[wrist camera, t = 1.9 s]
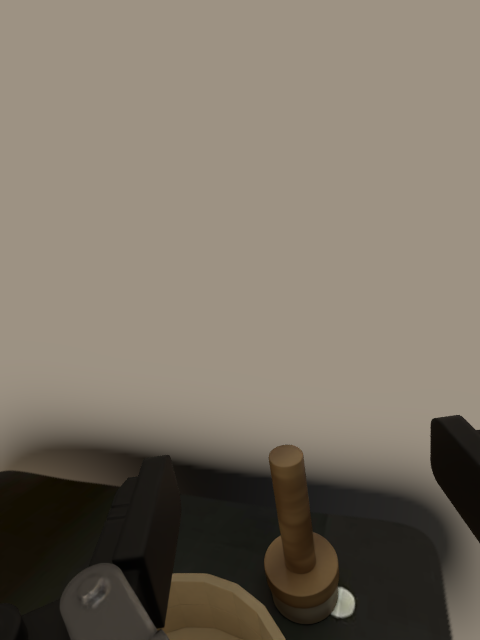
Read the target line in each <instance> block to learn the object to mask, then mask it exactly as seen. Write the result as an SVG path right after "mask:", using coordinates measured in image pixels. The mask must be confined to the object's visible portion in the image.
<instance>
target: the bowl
mask: <svg viewBox="0 0 480 640" xmlns="http://www.w3.org/2000/svg"><path fill="white" fill-rule="evenodd" d="M159 629H162V630H163V631H164V632H165V633H166V635H167V636H168V638H169V639H170V640H286V639H285V637H284V636H283V634H282V632H281V631H280V629H279V628H278V626H277V625H276V623H275V621H274V620H273V618H272V617H271V615H270V614H269V612H268V610H267V609H266V607H265V606H264V605H263V604H262V603H260V602H259V601H258V600H257V599H256V598H254V597H253V596H252V595H251V594H249V593H248V592H247V591H246V590H244V589H243V588H242V587H241V586H239V585H238V584H236V583H233V582H230V581H227V580H225V579H222V578H219V577H216V576H213V575H210V574H206V573H175V574H174V573H173V574H172V580H171V587H170V593H169V600H168V607H167V614H166V620H165V627H164V628H159ZM159 629H157V630H159Z"/></svg>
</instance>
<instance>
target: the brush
mask: <svg viewBox="0 0 480 640" xmlns="http://www.w3.org/2000/svg"><path fill="white" fill-rule="evenodd" d="M303 458H304V457H303V453H302V451H301V450H300V449H299V448H298V447H296V446H293V445H282V446H278V447H276V448H274V449H273V450H272V451H271V452H270V454H269V463H270V469H271V476H272V482H273V489H274V495H275V502H276V508H277V514H278V521H279V527H280V533H281V536H279V537H278V538H276V539H275V540H274V541H273V542H272V543H271V544H270V546H269V548H268V549H267V552H266V554H265V559H264V567H265V573H266V579H267V583H268V586H269V588H270V590H271V591H272V596H273V600H274V603H275V605H276V607H277V609H278V610H279V611H280V613H281V614H282V615H284V616H285V617H286V618H287V619H289V620H291V621H293V622H296V623H299V624H313V623H317V622H320V621H322V620H324V619H325V618H326V617H328V616H329V615H330V614H331V612H332V611H333V610H334V608H335V606H336V603H337V600H338V582H339V567H338V558H337V555H336V552H335V550H334V548H333V547H332V545H331V544H330V543H329V542H328V541H327V540H326V539H325V538H324V537H322V536H321V535H319V534H317V533H314V532H313V531H312V522H311V514H310V507H309V498H308V490H307V482H306V474H305V467H304V459H303Z"/></svg>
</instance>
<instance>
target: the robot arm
mask: <svg viewBox="0 0 480 640" xmlns="http://www.w3.org/2000/svg"><path fill="white" fill-rule="evenodd" d="M430 460H431V468H432V471H433V474H434V477H435V479H436V481H437V483H438V484H439V486H440V487H441V488H442V490H443V491H444V493H445V494H446V496H447V497H448V498H449V500H450V501H451V503H452V504H453V505H454V507H455V508H456V510H457V511H458V513H459V514H460V515H461V517H462V518H463V520H464V521H465V523H466V524H467V525H468V527H469V528H470V530H471V531H472V533H473V534H474V535H475V537H476V538H477V540H478V541H479V543H480V430H475V429H474V428H473V427H472V426H471V425H470V424H469V423H468V422H467V421H466V420H465V419H464V418H463V417H462V416H460V415H454V416H448V417H440V418H434V419H432V421H431V457H430ZM180 519H181V499H180V494H179V489H178V485H177V481H176V477H175V473H174V469H173V465H172V461H171V458H170V456H169V455H164V456H157V457H150V458H145V459H144V460H143V463H142V466H141V469H140V472H139V475H138V477H132V478H128V479H127V480H126V481H125V482H124V483H123V485H122V486H121V487H120V488H119V489H118V490H117V492H116V494H115V497H114V500H113V502H112V505H111V509H110V511H109V513H108V516H107V521H105V524H104V527H103V529H102V532H101V535H100V537H99V540H98V543H97V546H96V548H95V551H94V554H93V556H92V559H91V562H90V564H89V567H88V568H86V569H85V570H83V571H82V572H80V573H79V574H78V575H76V576H75V577H74V578H73V579H72V580H71V581H70V583H69V584H68V585H67V587H66V588H65V590H64V592H63V594H62V596H61V598H60V599H58V600H56V601H54V602H52V603H50V604H48V605H45V606H43V607H41V608H38V609H36V610H34V611H31V612H29V613H27V614H24V615H22V616H21V614H20V612H19V610H18V608H17V607H16V606H14V605H12V604H7V603H4V604H0V640H170V639H169V638H168V636H167V635H166V633H165V632H164V631H163V630H162V629H159V628H164V627H165V620H166V614H167V607H168V600H169V593H170V587H171V580H172V573H173V566H174V560H175V553H176V546H177V539H178V533H179V526H180ZM157 629H159V630H157Z"/></svg>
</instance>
